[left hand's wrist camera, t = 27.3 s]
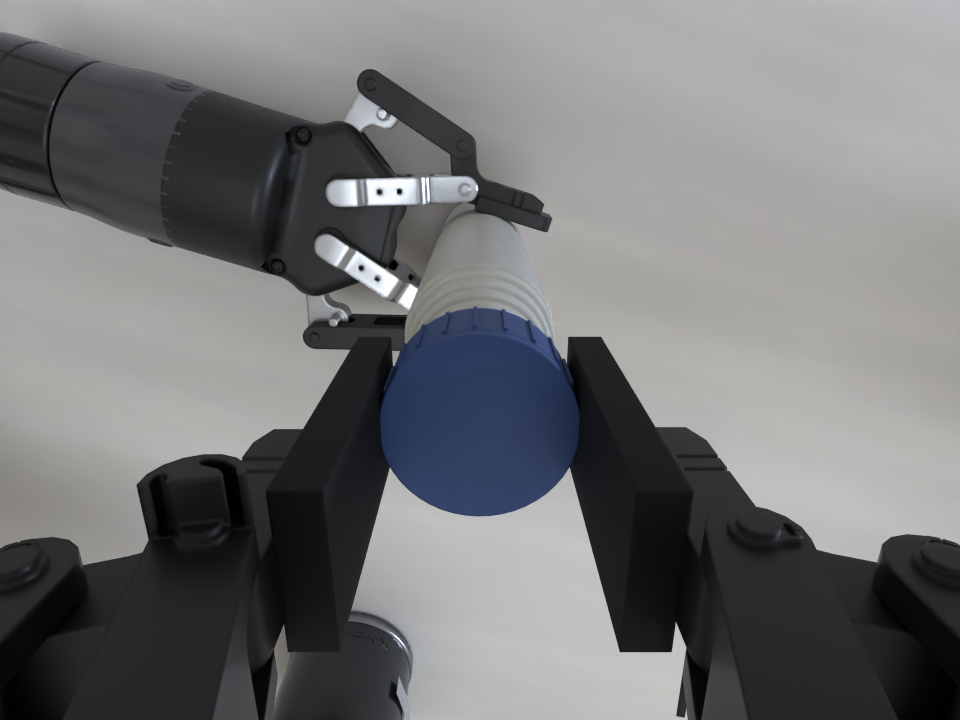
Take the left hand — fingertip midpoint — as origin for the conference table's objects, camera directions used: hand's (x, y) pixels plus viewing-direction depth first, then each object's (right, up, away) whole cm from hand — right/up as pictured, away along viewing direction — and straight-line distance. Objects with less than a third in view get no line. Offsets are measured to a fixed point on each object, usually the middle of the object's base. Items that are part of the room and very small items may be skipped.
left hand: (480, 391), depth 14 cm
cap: (0, -1, -2) cm, 2 cm away
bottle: (0, +8, +22) cm, 24 cm away
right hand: (+2, +5, +16) cm, 17 cm away
